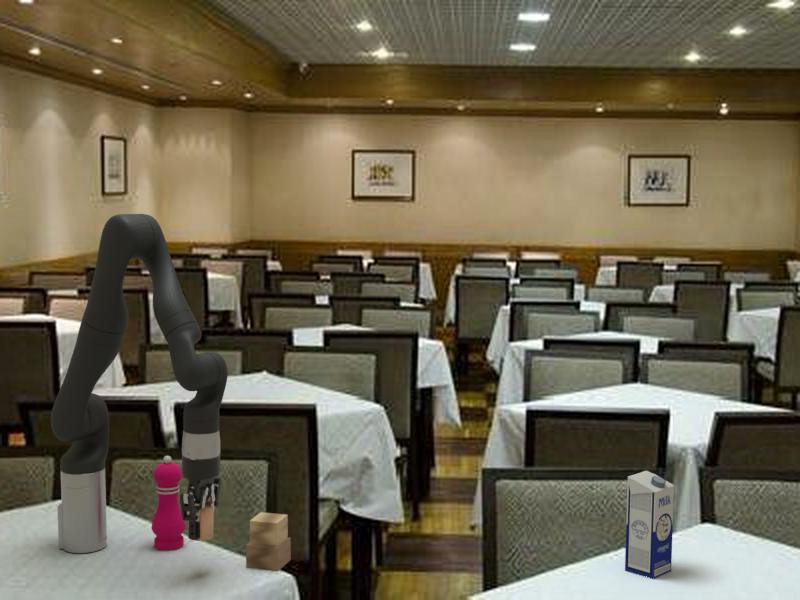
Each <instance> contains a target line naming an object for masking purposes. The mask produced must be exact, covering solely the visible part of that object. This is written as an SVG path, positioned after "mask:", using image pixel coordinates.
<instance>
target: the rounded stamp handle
mask: <svg viewBox="0 0 800 600" xmlns="http://www.w3.org/2000/svg"><path fill="white" fill-rule="evenodd" d="M199 505H200V504H196V503H195V506H199ZM213 509H214V507H213V506H211V505H208V504H205V507H204V510H202V511H201V517H200V538H199V539H198V540H193V539H190V540H191V541H194V542H203V541H209V540H212V539H213V538H214V512H213ZM195 511H196V513H197V510H196V509H195ZM187 522H188V523H187V525H188V526H187V537H188V539H189V521H187Z"/></svg>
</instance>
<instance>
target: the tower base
mask: <svg viewBox="0 0 800 600" xmlns="http://www.w3.org/2000/svg"><path fill="white" fill-rule="evenodd" d="M291 539H292V538H291V537H288V538H287V539H286V540H285V541H284V542H282V543H281V544H280V545H279V546H278V547H271V546H262V545H252V544H250V541H249V542H247V544H245V552H246V553H245V556H246V559H245V562H246V563H245V564H246V565H245V568H246V569H253V570H254V569H256V570H264V571H271V572H273V571H274V572H279V571H280V570H281V569H282V568H284V566H286V565H287V564H288V563H289V562H290V561H291V559H292V558H291V557H292V554H291V550H292V549H291V548H292V546H291V545H292V544H291V543H292V542H291Z"/></svg>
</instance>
